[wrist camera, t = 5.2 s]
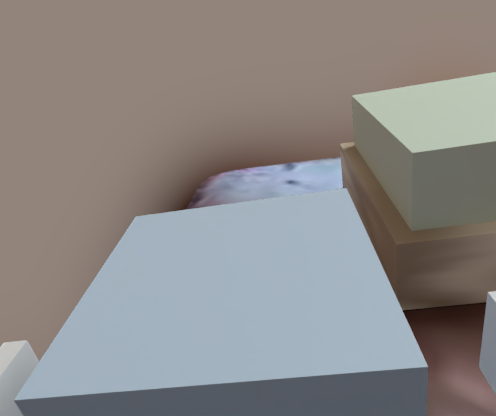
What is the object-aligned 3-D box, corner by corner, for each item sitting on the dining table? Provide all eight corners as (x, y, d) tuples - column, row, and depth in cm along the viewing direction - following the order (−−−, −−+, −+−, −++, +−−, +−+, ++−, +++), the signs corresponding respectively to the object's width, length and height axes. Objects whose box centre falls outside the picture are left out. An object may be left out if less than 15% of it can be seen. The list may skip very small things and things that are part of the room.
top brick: (540, 118, 30) (548, 63, 28) (737, 191, 17) (774, 101, 16) (354, 145, 31) (351, 95, 30) (411, 231, 19) (412, 152, 17)
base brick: (538, 160, 32) (545, 113, 31) (753, 275, 18) (790, 197, 16) (342, 187, 34) (339, 143, 32) (397, 310, 20) (396, 244, 18)
